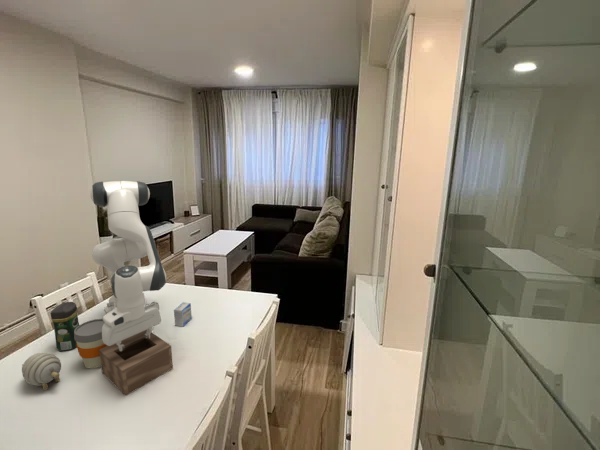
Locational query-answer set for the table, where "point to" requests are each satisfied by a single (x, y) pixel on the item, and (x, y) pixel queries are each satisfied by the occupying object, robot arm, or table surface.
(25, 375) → the toy sheep
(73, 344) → the coffee jar
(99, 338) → the reusable coffee cup
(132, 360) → the box
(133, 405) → the table surface
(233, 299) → the table surface
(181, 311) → the medicine box
